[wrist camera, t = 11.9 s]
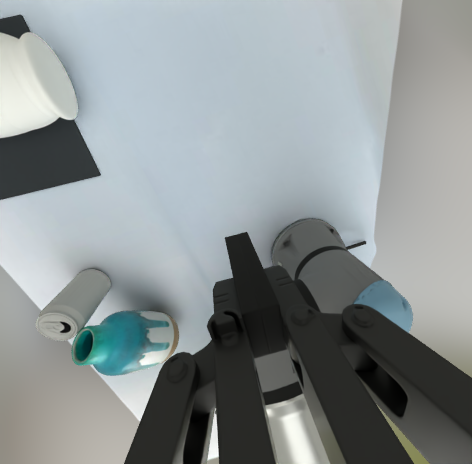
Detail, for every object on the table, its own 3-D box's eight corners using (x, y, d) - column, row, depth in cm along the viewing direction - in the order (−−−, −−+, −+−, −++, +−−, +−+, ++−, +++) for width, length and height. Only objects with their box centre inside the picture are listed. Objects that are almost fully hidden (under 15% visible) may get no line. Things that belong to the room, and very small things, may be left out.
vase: (151, 368, 47) (54, 394, 31) (148, 319, 52) (63, 319, 36) (190, 356, 45) (107, 377, 28) (183, 305, 50) (108, 299, 33)
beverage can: (110, 295, 45) (79, 345, 34) (76, 290, 43) (32, 340, 32) (114, 270, 43) (81, 315, 32) (78, 264, 41) (31, 308, 30)
